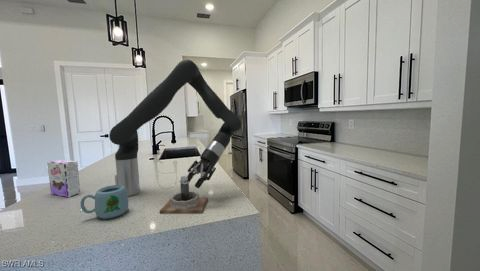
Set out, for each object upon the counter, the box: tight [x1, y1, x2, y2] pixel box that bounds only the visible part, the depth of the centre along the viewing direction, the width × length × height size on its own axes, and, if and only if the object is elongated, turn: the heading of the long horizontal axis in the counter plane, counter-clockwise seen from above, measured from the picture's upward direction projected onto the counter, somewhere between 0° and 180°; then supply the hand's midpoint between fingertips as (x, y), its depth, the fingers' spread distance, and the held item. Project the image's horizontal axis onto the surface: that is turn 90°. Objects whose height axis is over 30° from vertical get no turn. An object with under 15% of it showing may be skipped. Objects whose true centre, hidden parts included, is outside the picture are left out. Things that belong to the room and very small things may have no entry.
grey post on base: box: [178, 175, 193, 201], centre depth 84 cm, size 6×6×11 cm
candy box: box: [46, 159, 81, 198], centre depth 102 cm, size 14×6×16 cm, turn 68°
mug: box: [79, 184, 130, 220], centre depth 79 cm, size 15×11×10 cm
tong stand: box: [159, 191, 209, 215], centre depth 85 cm, size 16×12×4 cm
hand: (191, 184), depth 86 cm, fingers open, 8 cm apart
